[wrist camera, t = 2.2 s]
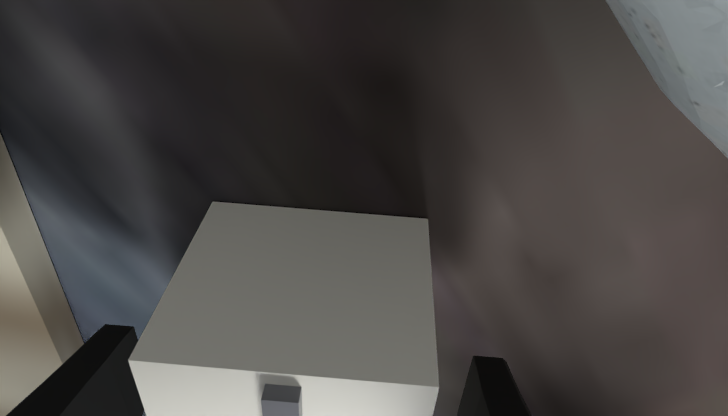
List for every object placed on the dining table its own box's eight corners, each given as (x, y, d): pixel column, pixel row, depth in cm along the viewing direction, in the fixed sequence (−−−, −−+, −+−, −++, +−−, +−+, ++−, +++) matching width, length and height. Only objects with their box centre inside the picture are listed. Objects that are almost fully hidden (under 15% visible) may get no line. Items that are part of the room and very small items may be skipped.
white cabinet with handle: (405, 358, 15) (406, 544, 11) (232, 343, 15) (171, 522, 11) (427, 218, 12) (439, 404, 8) (212, 201, 12) (119, 376, 8)
